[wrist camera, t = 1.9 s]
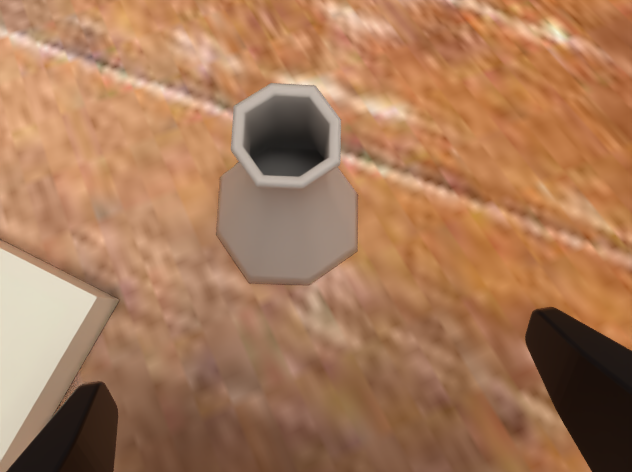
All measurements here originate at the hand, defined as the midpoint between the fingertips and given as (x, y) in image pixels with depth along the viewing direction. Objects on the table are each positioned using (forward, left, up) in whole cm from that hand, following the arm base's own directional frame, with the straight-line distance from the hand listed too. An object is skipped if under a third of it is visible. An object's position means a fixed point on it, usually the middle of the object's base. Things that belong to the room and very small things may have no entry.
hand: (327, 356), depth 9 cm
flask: (+5, +3, -12) cm, 14 cm away
